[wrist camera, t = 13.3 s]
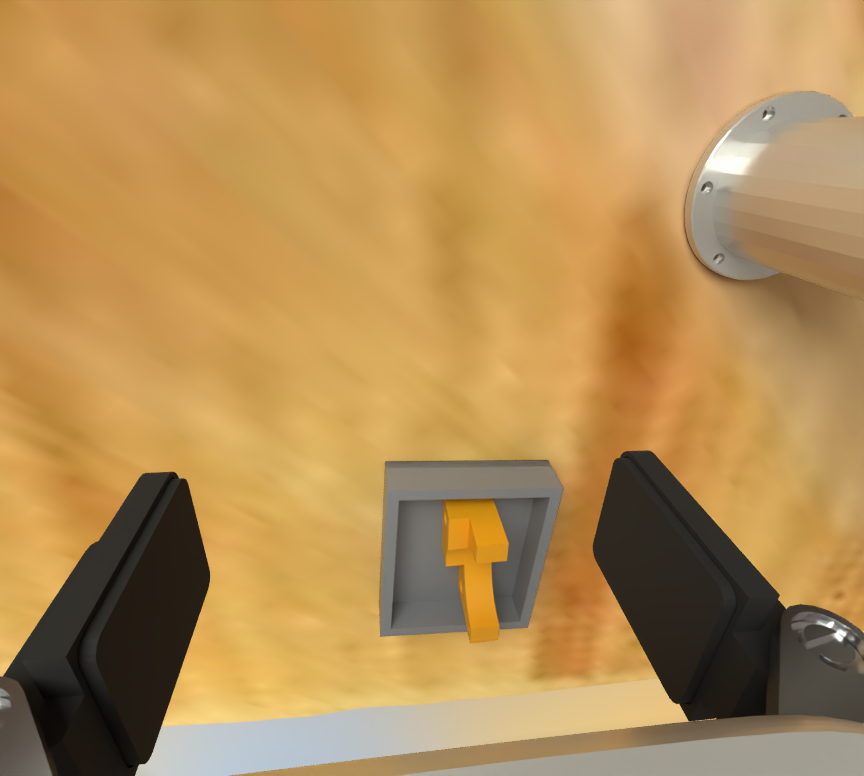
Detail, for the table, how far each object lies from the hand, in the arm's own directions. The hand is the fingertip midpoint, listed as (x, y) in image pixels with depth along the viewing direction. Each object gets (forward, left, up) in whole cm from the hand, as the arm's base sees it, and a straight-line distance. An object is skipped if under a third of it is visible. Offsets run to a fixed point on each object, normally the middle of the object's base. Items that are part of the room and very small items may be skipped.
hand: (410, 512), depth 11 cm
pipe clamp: (-9, +27, -26) cm, 39 cm away
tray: (-9, +27, -27) cm, 39 cm away
